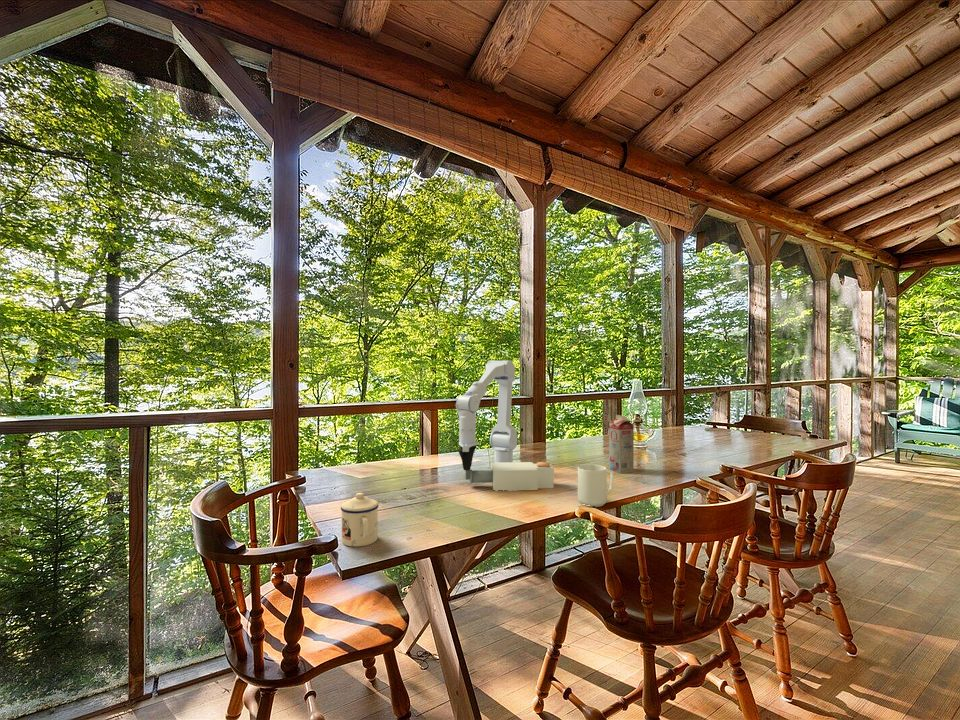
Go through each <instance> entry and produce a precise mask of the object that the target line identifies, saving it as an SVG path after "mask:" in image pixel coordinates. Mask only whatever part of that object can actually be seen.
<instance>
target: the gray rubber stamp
mask: <svg viewBox="0 0 960 720" xmlns="http://www.w3.org/2000/svg"><path fill="white" fill-rule="evenodd" d="M464 471H465V481H467V480H469V484H470V485H472V484H477V483H478V484H481V483H482V484H483V483H484V484H486V483H487V484H488V483H489V484H491V483H493V470H491V469H490V470H489V469H488V470H486V469H485V470H480V469H479V470H476V469H475V470H473V469H470V470H464Z"/></svg>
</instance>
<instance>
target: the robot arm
mask: <svg viewBox="0 0 960 720" xmlns="http://www.w3.org/2000/svg"><path fill="white" fill-rule="evenodd" d="M515 377H516V366H515V363H514V362H513V360H511V359H510V360H493V359H490V360H488V361H487V363H486V364H485V371H484V373H483V374H482V375H481V377H480V379H479V380H477V381H473V382H472V384H471V386H470V387H469V388H468V389H467V391H466V392H465V393H463V394H461V395H460V396H458V397H457V399H456V403H455V408H456V410H457V416H458V423H459V424H458V425H459V427H458V429H459V430H458V431H459V432H458V433H459V436H458V440H459V441H458V446H460V447H459V448H460V449H459V448H458V450H457V451H458V454H459V456H460V458H461V464H462V469H463V471H465V470H471V467H472V465H473V457H474V454H475V451H476V448H477V446H478V445H479V444H480V442H479V441H476V440H477V438H476V436H477V435H476V432H477V431H476V430H477V429H476V428H477V427H476V425H477V424H476V423H477V422H476V421H477V420H476V412H477V411H478V410H479V408H480V407H479V406H480V404H481V400H482V398H483V397H484V396H485V395H486V393H487V388H488V386H489V385H490V384H491V383H492V382H493V381H495V382H496V383H497V384H498V403H497V421H496V422H497V423H496V425H495V426H494V427H492V428H491V433H490V436H489V444H490V446H491V448H492V450H494V455H493V456H494V461H493V463H499V462H514V459H513V457H514V454H513V453H514V450H515V449H516V448H517V445H518V436H517V434H518V433H517V429H515V427H514V426H512V424H511V420H512V417H511V416H512V399H513V382H515Z"/></svg>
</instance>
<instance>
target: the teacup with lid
mask: <svg viewBox="0 0 960 720" xmlns="http://www.w3.org/2000/svg"><path fill="white" fill-rule="evenodd" d="M379 506H380V505H379V502H378V501H377V500H375V499H373V498H369V497H367V496H365V494H364V493H363V492H358V493H356V494H355V496H354V497H353V498H351V499H350V500H346V501H344V502H343V503H341V506H340V510H341V542H342V544H343V545H345V546H348V547H353V548H358V547H360V548H361V547H366V546H369V545H371V544H374V543H375V542H376V541H377V540H378V531H379V529H378V526H379V525H378V524H379V523H378V522H379V520H378V519H379V518H378V517H379V513H378V508H379Z"/></svg>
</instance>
